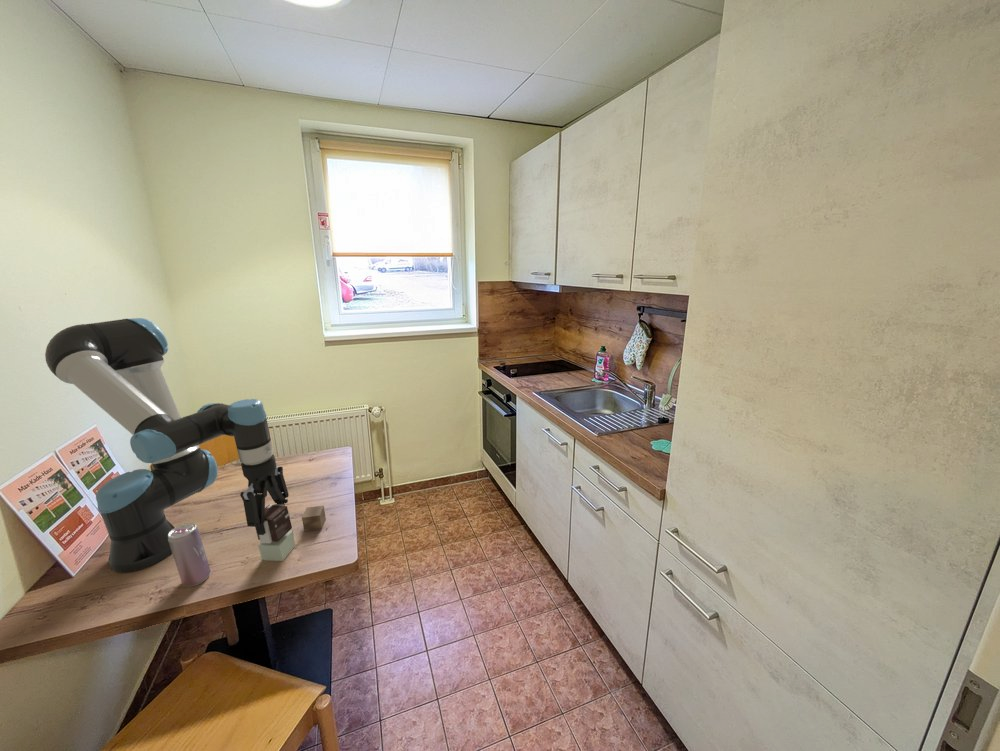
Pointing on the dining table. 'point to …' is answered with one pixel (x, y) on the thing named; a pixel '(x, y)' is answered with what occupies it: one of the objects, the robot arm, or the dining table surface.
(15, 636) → the dining table surface
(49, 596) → the dining table surface
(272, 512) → the box
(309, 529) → the walnut cube
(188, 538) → the beverage can
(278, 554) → the base block
